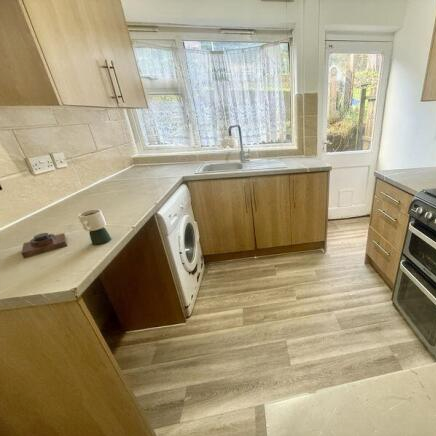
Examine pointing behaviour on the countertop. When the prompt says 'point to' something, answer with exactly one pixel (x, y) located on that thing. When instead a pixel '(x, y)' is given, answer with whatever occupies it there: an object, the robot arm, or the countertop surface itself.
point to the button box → (44, 245)
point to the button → (41, 236)
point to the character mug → (95, 226)
